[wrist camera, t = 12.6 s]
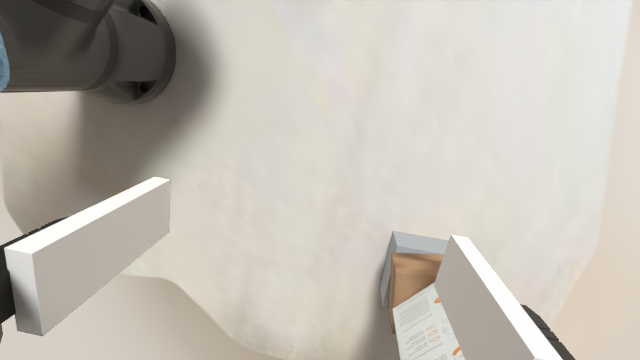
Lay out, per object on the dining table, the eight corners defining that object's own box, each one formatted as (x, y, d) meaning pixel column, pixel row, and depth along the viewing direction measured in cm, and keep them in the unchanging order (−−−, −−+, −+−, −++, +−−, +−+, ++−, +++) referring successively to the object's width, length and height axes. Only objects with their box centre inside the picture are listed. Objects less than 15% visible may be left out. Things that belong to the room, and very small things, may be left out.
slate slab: (379, 285, 50) (382, 306, 45) (392, 230, 47) (397, 245, 42) (441, 297, 50) (451, 319, 45) (459, 241, 47) (471, 259, 42)
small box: (421, 341, 40) (449, 453, 28) (390, 308, 40) (405, 408, 27) (476, 310, 38) (532, 417, 26) (444, 274, 37) (487, 366, 25)
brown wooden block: (388, 307, 45) (392, 333, 41) (391, 252, 43) (396, 273, 38) (452, 311, 44) (464, 338, 40) (459, 255, 42) (472, 276, 37)
